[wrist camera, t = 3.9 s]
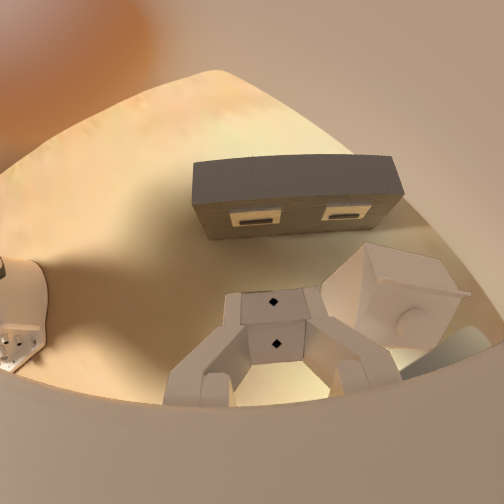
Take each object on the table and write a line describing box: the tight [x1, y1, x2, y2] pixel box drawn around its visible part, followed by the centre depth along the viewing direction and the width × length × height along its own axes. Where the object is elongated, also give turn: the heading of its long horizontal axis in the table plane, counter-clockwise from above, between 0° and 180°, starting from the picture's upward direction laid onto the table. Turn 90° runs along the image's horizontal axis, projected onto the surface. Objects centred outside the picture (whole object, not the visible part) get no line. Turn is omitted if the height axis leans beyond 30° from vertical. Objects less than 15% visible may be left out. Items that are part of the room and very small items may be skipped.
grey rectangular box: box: [192, 154, 405, 240], centre depth 31 cm, size 22×6×10 cm, turn 94°
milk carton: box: [320, 243, 471, 349], centre depth 22 cm, size 7×7×19 cm
